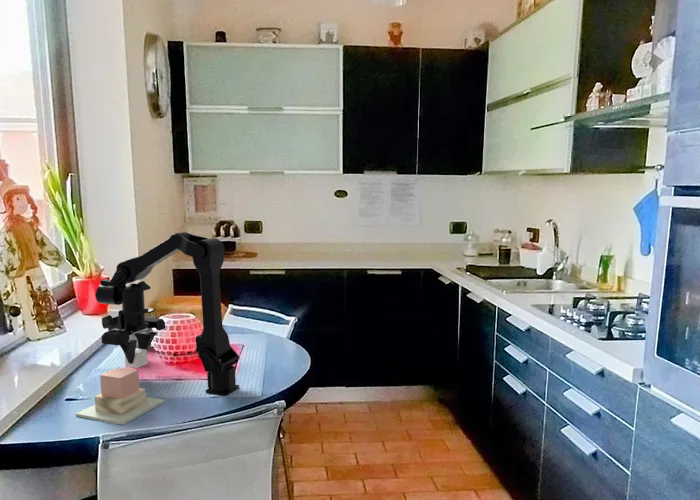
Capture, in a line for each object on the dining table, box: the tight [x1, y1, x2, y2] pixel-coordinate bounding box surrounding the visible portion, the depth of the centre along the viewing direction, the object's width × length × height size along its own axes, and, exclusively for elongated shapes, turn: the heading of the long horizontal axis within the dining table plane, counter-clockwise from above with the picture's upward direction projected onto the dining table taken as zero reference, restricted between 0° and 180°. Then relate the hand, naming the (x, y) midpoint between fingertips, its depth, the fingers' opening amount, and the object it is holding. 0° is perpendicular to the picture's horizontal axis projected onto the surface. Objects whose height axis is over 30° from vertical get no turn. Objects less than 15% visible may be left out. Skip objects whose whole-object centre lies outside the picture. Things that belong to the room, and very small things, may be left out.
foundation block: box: [94, 387, 147, 415], centre depth 136 cm, size 8×8×4 cm
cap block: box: [124, 348, 148, 369], centre depth 156 cm, size 4×4×4 cm
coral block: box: [99, 366, 140, 399], centre depth 135 cm, size 6×6×5 cm
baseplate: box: [75, 396, 165, 426], centre depth 136 cm, size 14×14×1 cm
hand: (136, 361), depth 156 cm, fingers closed on cap block, 4 cm apart
